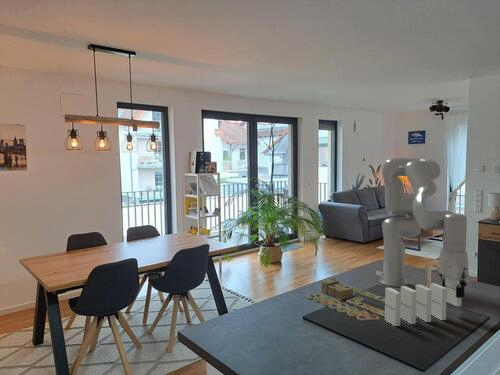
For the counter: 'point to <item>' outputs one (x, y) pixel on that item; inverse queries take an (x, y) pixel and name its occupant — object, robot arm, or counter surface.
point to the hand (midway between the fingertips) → (452, 293)
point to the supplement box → (432, 276)
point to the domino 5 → (452, 291)
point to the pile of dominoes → (344, 292)
